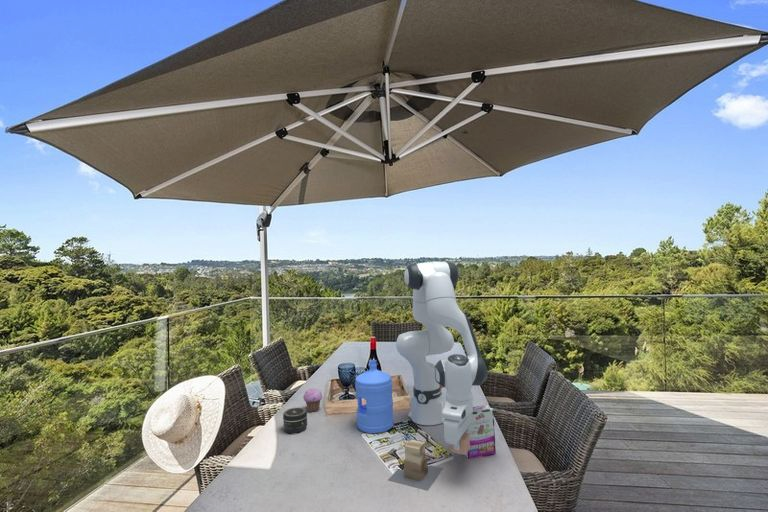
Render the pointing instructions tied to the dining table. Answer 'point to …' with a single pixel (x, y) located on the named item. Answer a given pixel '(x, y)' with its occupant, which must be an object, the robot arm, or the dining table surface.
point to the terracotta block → (463, 444)
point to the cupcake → (313, 399)
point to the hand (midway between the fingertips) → (460, 444)
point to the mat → (423, 484)
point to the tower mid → (415, 451)
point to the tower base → (416, 469)
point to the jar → (295, 420)
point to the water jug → (374, 400)
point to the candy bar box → (481, 432)
